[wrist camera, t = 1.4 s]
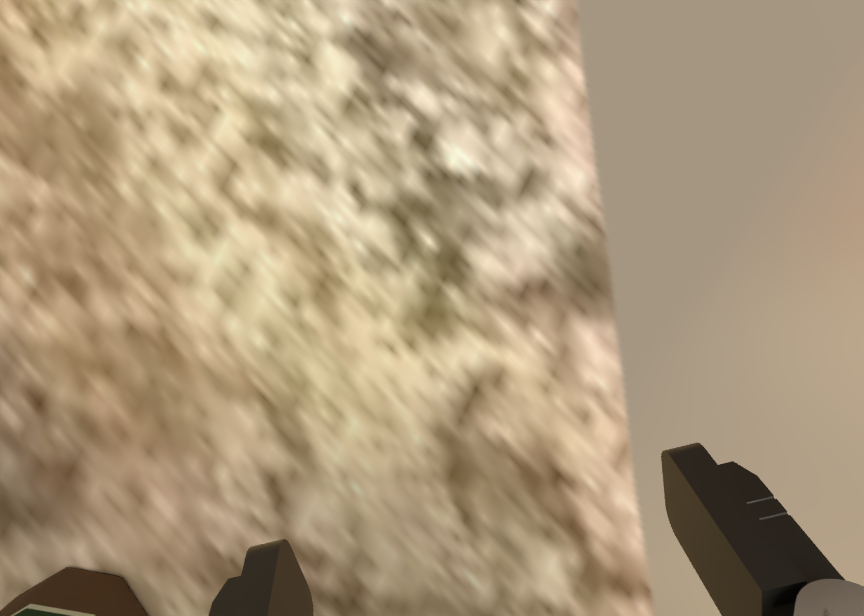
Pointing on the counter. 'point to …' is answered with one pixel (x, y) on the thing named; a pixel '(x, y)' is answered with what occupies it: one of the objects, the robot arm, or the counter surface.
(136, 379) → the counter surface
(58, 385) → the counter surface
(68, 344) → the counter surface
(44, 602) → the beer bottle
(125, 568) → the counter surface
